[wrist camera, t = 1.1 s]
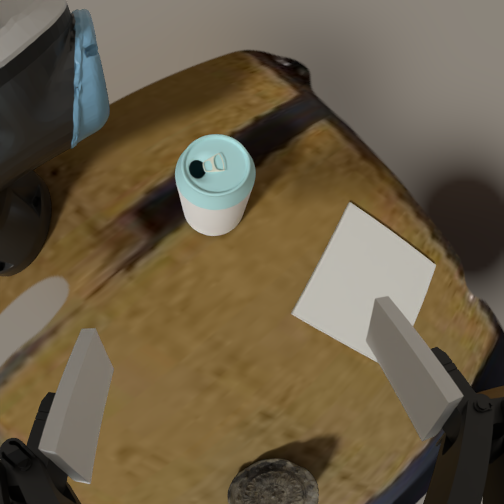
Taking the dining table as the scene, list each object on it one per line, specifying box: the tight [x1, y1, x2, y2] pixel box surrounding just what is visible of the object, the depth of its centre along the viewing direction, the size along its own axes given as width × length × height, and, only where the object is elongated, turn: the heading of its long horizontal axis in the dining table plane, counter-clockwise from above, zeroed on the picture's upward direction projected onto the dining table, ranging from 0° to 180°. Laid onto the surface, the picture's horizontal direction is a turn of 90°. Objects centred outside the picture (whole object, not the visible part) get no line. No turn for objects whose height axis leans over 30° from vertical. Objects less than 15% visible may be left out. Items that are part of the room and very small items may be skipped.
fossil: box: [228, 458, 319, 504], centre depth 28 cm, size 11×9×10 cm
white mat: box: [291, 202, 436, 362], centre depth 37 cm, size 16×16×1 cm
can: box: [175, 134, 256, 236], centre depth 30 cm, size 7×7×12 cm
